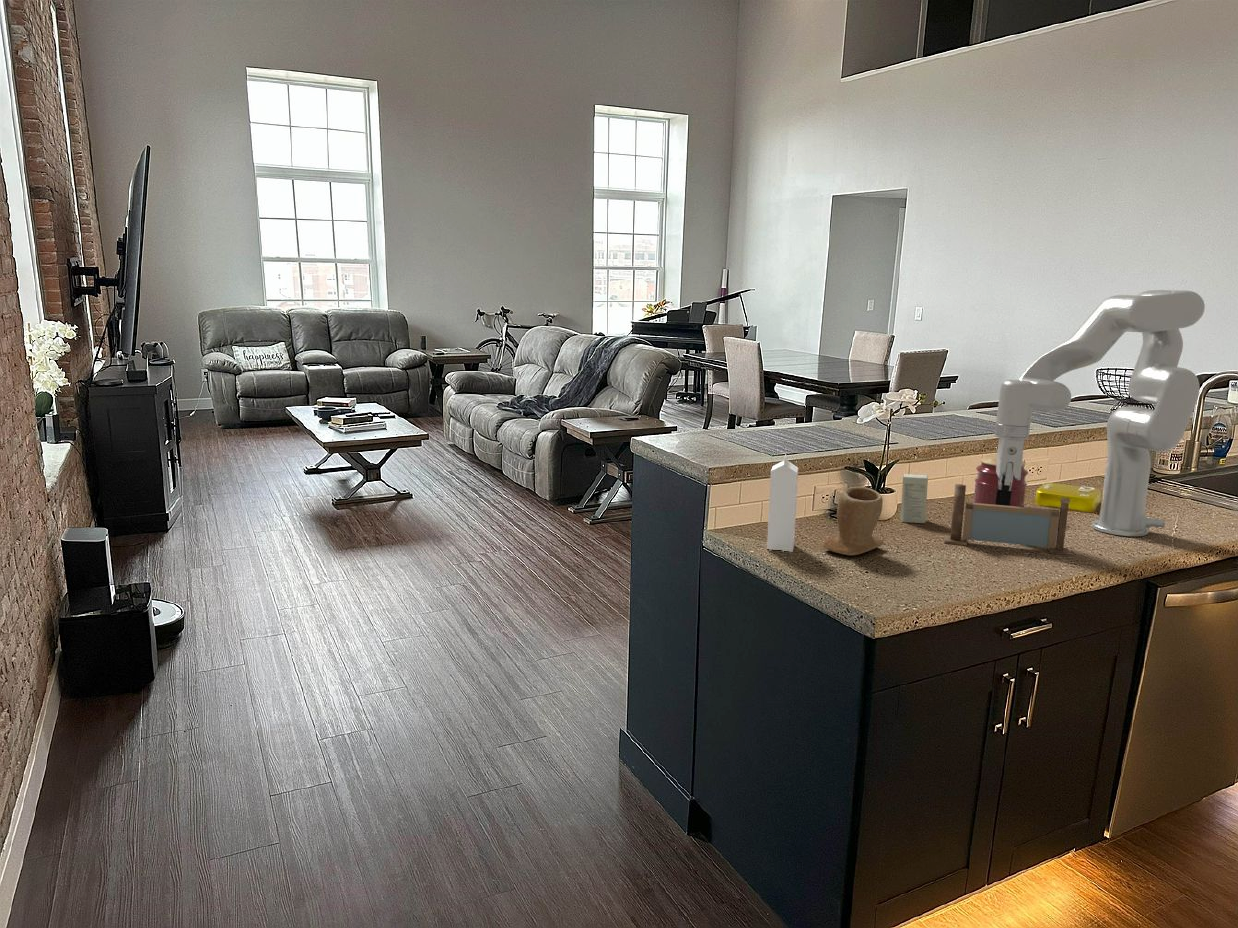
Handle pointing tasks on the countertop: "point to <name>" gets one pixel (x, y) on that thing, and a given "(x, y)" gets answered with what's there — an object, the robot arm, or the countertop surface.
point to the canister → (989, 483)
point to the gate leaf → (1011, 524)
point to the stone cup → (856, 522)
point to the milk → (782, 506)
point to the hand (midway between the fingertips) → (1002, 505)
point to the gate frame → (958, 519)
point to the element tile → (1068, 496)
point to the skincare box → (914, 498)
